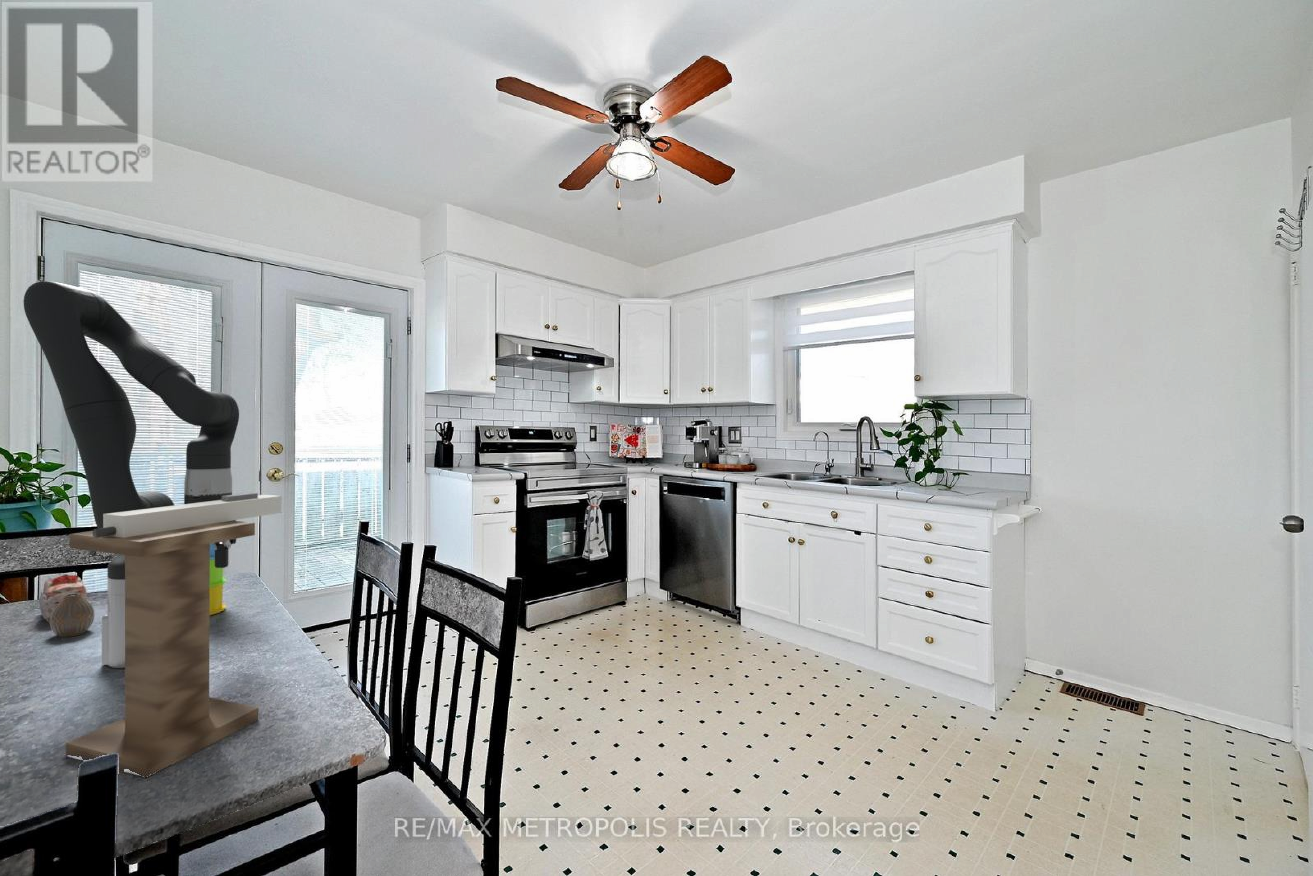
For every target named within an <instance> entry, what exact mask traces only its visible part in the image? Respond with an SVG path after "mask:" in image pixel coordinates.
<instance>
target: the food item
mask: <svg viewBox="0 0 1313 876" xmlns="http://www.w3.org/2000/svg"><path fill="white" fill-rule="evenodd" d="M87 592H88V591H87V588H86V586H85V584H84V582H83V581H82V579H81V577H79V575H76V574H74V575H73V574H72V575H69V574H68V573H67V574H63V575H61V576H58V577H54V578H51V577H48V579H47V580H46V581H45V582H44V584H43V589H42V588H41V589H40V597H39V599H38V602H39V610H40V614H41V616H42V617H43V619H44V620H46V621H47V622H48V623H50V616H51V613H52V611H53V610H54V608H55V607H56V606H57V605H58V604H59V603H60V602H61V601H62V599H63V598H64V596H65V595H67V594H72V593H80V594H81V596H82V597H83V598H84V599H86V600H87V601H88V594H87Z"/></svg>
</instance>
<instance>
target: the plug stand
mask: <svg viewBox="0 0 1313 876" xmlns="http://www.w3.org/2000/svg"><path fill="white" fill-rule="evenodd" d="M255 523H256V522H252V521H239V520H236V521H226V522H219V523H213V524H207V525H200V526H194V527H188V528H181V529H175V530H169V531H162V532H156V533H150V534H143V535H137V536H131V537H124V538H122V537H113V536H105V537H98V538H95V537H94V536H93V530H90V531H81V532H75V533H70V534H69V548H70V549H75V550H83V551H91V552H99V553H105V554H106V553H108V554H114V555H115V554H116V555H119V554H122V555H125V668H124V718H122V719H119V720H117V721H115V722H113V723H110V724H107V725H106V726H102V727H100V728H98V729H95V730H93V731H91V732H89V733H86V734H83V735H82V736H79V737H76V738H74V739H71V740H70V741H67V742H65V756H66V755H71V756H77V757H79V756H81V757H82V759H83V760H89V759H94V758H96V757H99V756H102V755H107V754H112V753H118V754H119V771H118V772H121V773H124V769H129V770H130V771H132V772H135V773H137V774H139V775H141V776H144V777H147V776H149V775H150V774H153V773H155V772H157V773H159V772H161V771H163V770H165V769H166V767H167V768H168V766H169V765H171V766H172V765H174V764H177V763H179V762H180V761H182V760H184V759H186V758H188V757H191V756H192V755H194V754H195V753H197V752H199V751H202V750H203V749H205V748H207V747H210V746H211V745H213V744H215V743H217V742H219V741H221V740H223V739H224V738H226V737H228V736H230V735H232V734H234V733H236V732H238V731H239V730H241V729H244V728H246V727H247V726H249V725H251V724H253V723H255V722H257V721H259V707H257V706H252V705H248V704H244V703H238V702H233V701H228V700H225V699H224V700H223V699H219V698H215V697H214V698H213V697H210V616H211V615H210V544H211V543H216V542H221V541H226V540H232V539H236V540H237V539H240V538H241V539H242V538H248V537H251V536H255V535H256V529H255V528H256V527H255ZM83 760H81V762H84V761H83ZM169 767H170V766H169ZM164 768H165V769H164ZM162 769H163V770H162ZM160 770H161V771H160ZM158 771H159V772H158ZM155 774H156V773H155ZM153 775H154V774H153Z"/></svg>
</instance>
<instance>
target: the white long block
mask: <svg viewBox="0 0 1313 876" xmlns="http://www.w3.org/2000/svg"><path fill="white" fill-rule="evenodd" d="M282 497H283V496H282V495H277V494H276V495H274V494H273V495H272V494H260V495H259V492H246V493H236V494H232V495H227V496H222V500H216V501H208V502H199V503H191V504H176V505H175V504H174V505H175V506H166V507H158V508H150V509H141V510H133V511H125V512H117V513H108V514H103V528H99V529H98V528H94V529H92V531H93V536H94V537H95V538H98V537H105V536H113V537H122V538H124V537H131V536H137V535H143V534H150V533H156V532H162V531H169V530H175V529H181V528H188V527H194V526H200V525H207V524H213V523H219V522H226V521H232V520H236V521H239V520H243V519H250V518H257V517H262V516H270V515H275V514H280V513H282Z"/></svg>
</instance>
